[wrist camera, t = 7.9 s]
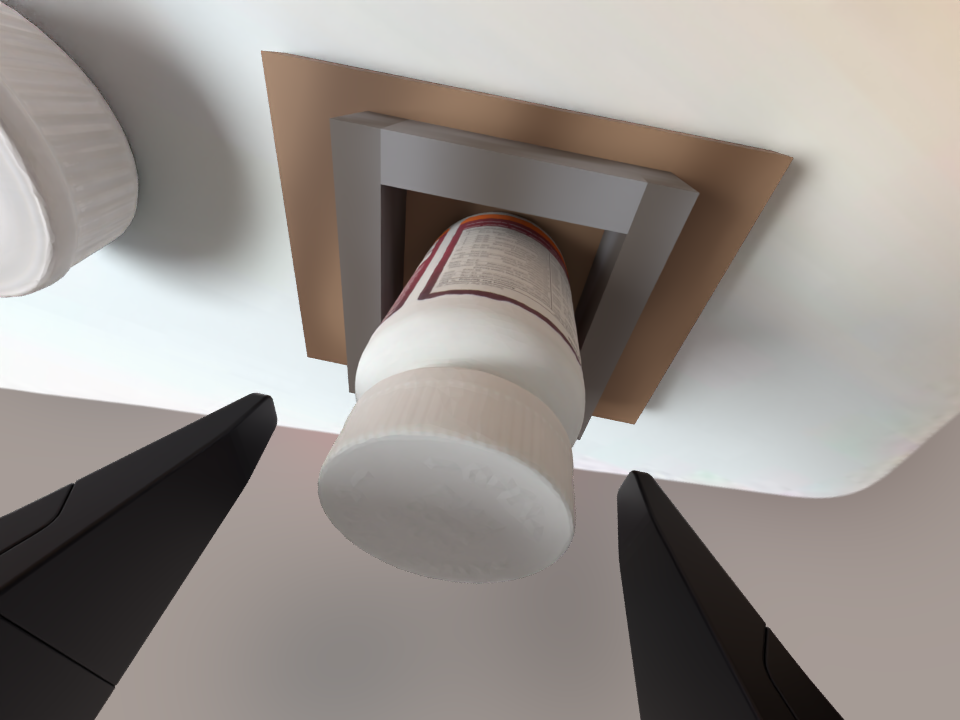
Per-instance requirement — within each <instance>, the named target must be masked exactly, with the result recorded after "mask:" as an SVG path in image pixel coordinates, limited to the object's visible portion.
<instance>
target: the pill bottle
mask: <svg viewBox="0 0 960 720" xmlns="http://www.w3.org/2000/svg"><path fill="white" fill-rule="evenodd" d="M355 395H356V402H357V403H356V404H355V406H354V408H353V409H352V411H351V413H350V414H349V416H348V418H347V420H346V422H345V424H344V427H343V429H342V431H341V433H340V435H339V436H338V438H337V440H336V441H335V443H334V445H333V447H332V448H331V450H330V452H329V454H328V456H327V458H326V459H325V461H324V463H323V465H322V468H321V471H320V475H319V481H318V495H319V499H320V502H321V505H322V507H323V509H324V512H325V514H326V515H327V516H328V518H329V519H330V521H331V522H332V524H333V525H334V526H335V527H336V528H337V529H338V530H339V531H340V532H341V533H342V534H343V535H344V536H345V537H346V538H347V539H348V540H349V541H351V542H352V543H353V544H355V545H356V546H358V547H359V548H360V549H362V550H363V551H365V552H366V553H368V554H370V555H372V556H373V557H375V558H378V559H380V560H382V561H383V562H385V563H388V564H390V565H392V566H394V567H396V568H399V569H402V570H405V571H407V572H411V573H414V574H418V575H420V576H424V577H428V578H433V579H439V580H445V581H452V582H460V583H478V584H480V583H496V582H505V581H512V580H516V579H520V578H524V577H527V576H530V575H533V574H536V573H538V572H540V571H542V570H544V569H546V568H547V567H549V566H551V565H552V564H553V563H555V562H556V561H557V560H558V559H559V558H560V557H561V556H562V555H563V554H564V553H565V552H566V551H567V549H568V547H569V546H570V544H571V542H572V539H573V536H574V532H575V525H576V524H575V523H576V522H575V521H576V512H575V511H576V510H575V496H574V484H573V455H572V449H571V448H572V447H573V445H574V443H575V442H576V440H577V438H578V436H579V433H580V431H581V428H582V423H583V419H584V412H585V386H584V379H583V371H582V365H581V357H580V350H579V344H578V338H577V330H576V324H575V318H574V310H573V303H572V295H571V289H570V281H569V275H568V272H567V268H566V264H565V261H564V258H563V256H562V254H561V251H560V250H559V248H558V246H557V245H556V243H555V242H554V241H553V240H552V238H551V237H550V236H549V235H548V234H547V233H546V232H545V231H543V230H542V229H541V228H540V227H539V226H537V225H536V224H534V223H532V222H531V221H529V220H527V219H524V218H522V217H519V216H516V215H513V214H509V213H502V212H487V213H480V214H476V215H472V216H469V217H466V218H464V219H462V220H460V221H458V222H456V223H454V224H453V225H451V226H450V227H449V228H448V229H446V230H445V231H444V232H443V233H442V234H441V235H440V236H439V237H438V238H437V240H436V241H435V242H434V244H433V245H432V247H431V248H430V249H429V251H428V252H427V254H426V255H425V257H424V259H423V261H422V262H421V263H420V265H419V266H418V267H417V269H416V271H415V273H414V275H413V276H412V277H411V279H410V280H409V282H408V283H407V285H406V286H405V288H404V289H403V291H402V292H401V294H400V295H399V297H398V298H397V300H396V301H395V303H394V305H393V306H392V307H391V309H390V310H389V312H388V313H387V315H386V316H385V318H384V319H383V321H382V322H381V324H380V325H379V326H378V328H377V329H376V330H375V332H374V333H373V334H372V336H371V338H370V341H369V343H368V344H367V346H366V348H365V350H364V352H363V353H362V356H361V358H360V361H359V364H358V368H357V372H356V379H355Z"/></svg>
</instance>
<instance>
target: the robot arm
mask: <svg viewBox="0 0 960 720" xmlns="http://www.w3.org/2000/svg"><path fill="white" fill-rule="evenodd" d="M276 425H277V415H276V411H275V407H274V402H273V399H272V397H271V396H269V395H265V394H260V393H252V394H249V395H247V396H245V397H243V398H241V399H239V400H237V401H235V402H233V403H231V404H229V405H227V406H225V407H223V408H221V409H219V410H217V411H215V412H213V413H211V414H209V415H207V416H205V417H203V418H201V419H199V420H197V421H195V422H193V423H191V424H189V425H187V426H185V427H183V428H181V429H179V430H177V431H175V432H173V433H171V434H169V435H167V436H165V437H163V438H161V439H159V440H157V441H155V442H153V443H151V444H149V445H147V446H145V447H143V448H141V449H139V450H137V451H135V452H133V453H131V454H129V455H127V456H125V457H123V458H121V459H119V460H117V461H115V462H113V463H111V464H109V465H107V466H105V467H103V468H101V469H99V470H97V471H95V472H93V473H91V474H89V475H87V476H85V477H83V478H81V479H79V480H77V481H76V482H75V484H74V483H71V484H69V485H67V486H65V487H62V488H60V489H58V490H57V491H55V492H53V493H50V494H49V495H47V496H44V497H42V498H40V499H38V500H36V501H34V502H32V503H30V504H28V505H26V506H24V507H22V508H20V509H17V510H15V511H13V512H11V513H9V514H7V515H5V516H2V517H0V720H94V719H95V718H96V717H97V715H98V713H99V712H100V710H101V709H102V707H103V706H104V704H105V703H106V701H107V700H108V698H109V697H110V695H111V693H112V692H113V690H114V689H115V685H117V684H118V682H119V681H120V679H121V678H122V676H123V674H124V673H125V671H126V670H127V668H128V667H129V665H130V664H131V662H132V661H133V659H134V657H135V656H136V654H137V653H138V651H139V650H140V648H141V647H142V645H143V644H144V642H145V640H146V639H147V637H148V636H149V634H150V633H151V631H152V629H153V628H154V627H155V625H156V623H157V622H158V620H159V619H160V617H161V616H162V614H163V613H164V611H165V610H166V608H167V606H168V605H169V603H170V602H171V600H172V599H173V597H174V596H175V594H176V593H177V591H178V589H179V588H180V586H181V585H182V583H183V582H184V580H185V579H186V577H187V576H188V574H189V572H190V571H191V569H192V568H193V566H194V565H195V563H196V562H197V560H198V559H199V557H200V556H201V554H202V552H203V551H204V549H205V548H206V546H207V545H208V543H209V541H210V540H211V539H212V537H213V535H214V534H215V532H216V531H217V529H218V528H219V526H220V524H221V523H222V521H223V520H224V518H225V517H226V515H227V514H228V512H229V511H230V509H231V508H232V506H233V505H234V503H235V501H236V500H237V498H238V497H239V495H240V494H241V492H242V491H243V489H244V487H245V486H246V484H247V483H248V480H249V479H250V477H251V475H252V473H253V471H254V469H255V467H256V465H257V463H258V461H259V460H260V457H261V455H262V454H263V452H264V450H265V448H266V446H267V444H268V442H269V440H270V438H271V435H272V433H273V432H274V430H275V428H276ZM617 511H618V549H619V563H620V572H621V579H622V586H623V594H624V601H625V608H626V616H627V623H628V631H629V638H630V645H631V653H632V659H633V667H634V674H635V682H636V688H637V696H638V704H639V711H640V718H641V720H844V719H843V718H842V717H841V715H840V714H839V713H838V712H837V711H836V710H835V708H834V707H833V706H832V705H831V704H830V703H829V701H828V700H827V699H826V698H825V697H824V695H823V694H822V693H821V692H820V691H819V689H818V688H817V687H816V686H815V685H814V684H813V682H812V681H811V680H810V679H809V678H808V676H807V675H806V674H805V673H804V671H803V670H802V669H801V668H800V666H799V665H798V664H797V663H796V661H795V660H794V659H793V658H792V656H791V655H790V654H789V653H788V651H787V650H786V649H785V648H784V646H783V645H782V644H781V642H780V641H779V640H778V638H777V637H776V636H775V635H774V633H773V632H772V631H771V629H770V628H769V627H766V624H765V622H764V621H763V619H762V618H761V617H760V615H759V614H758V613H757V612H756V610H755V609H754V608H753V606H752V605H751V604H750V603H749V601H748V600H747V599H746V597H745V596H744V595H743V593H742V592H741V591H740V590H739V588H738V587H737V586H736V585H735V583H734V582H733V581H732V579H731V578H730V577H729V576H728V574H727V573H726V571H725V570H724V569H723V568H722V566H721V565H720V564H719V562H718V561H717V560H716V559H715V557H714V556H713V555H712V553H711V552H710V551H709V550H708V548H707V547H706V546H705V544H704V543H703V542H702V541H701V539H700V538H699V537H698V535H697V534H696V533H695V531H694V530H693V529H692V528H691V526H690V525H689V524H688V522H687V521H686V520H685V519H684V517H683V516H682V515H681V513H680V512H679V511H678V509H677V508H676V507H675V506H674V504H673V503H672V502H671V500H670V499H669V498H668V497H667V495H666V494H665V493H664V492H663V490H662V489H661V488H660V486H659V485H658V484H657V482H656V481H655V480H654V478H653V477H652V476H651V475H650V474H648V473H645V472H640V471H635V470H633V471H631V472H630V473H629V474H628V476H627V477H626V479H625V481H624V482H623V484H622V485H621V487H620V488H619V491H618V494H617Z"/></svg>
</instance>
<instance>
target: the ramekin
mask: <svg viewBox="0 0 960 720" xmlns="http://www.w3.org/2000/svg"><path fill="white" fill-rule="evenodd" d="M138 186H139V185H138V174H137V169H136V164H135V161H134V157H133V154H132V152H131V149H130V146H129V143H128V140H127V138H126V136H125V134H124V132H123V130H122V128H121V126H120V124H119V122H118V120H117V119H116V117H115V115H114V114H113V112H112V110H111V109H110V107H109V105H108V104H107V102H106V101H105V99H104V98H103V96H102V95H101V93H100V92H99V91H98V89H97V88H96V87H95V86H94V84H93V83H92V82H91V80H90V79H89V78H88V77H87V76H86V74H85V73H84V72H83V71H82V70H81V69H80V68H79V66H78V65H77V64H76V63H75V62H74V61H73V60H72V59H71V58H70V57H69V56H68V55H67V54H66V53H65V52H64V51H63V50H62V49H61V48H60V47H59V46H58V45H57V44H56V43H54V42H53V41H52V40H51V39H50V38H49V37H48V36H46V35H45V34H44V33H43V32H42V31H41V30H40V29H39V28H38V27H36V26H35V25H34V24H32V23H31V22H30V21H28V20H27V19H25V18H24V17H23V16H22V15H21V14H19V13H18V12H17V11H15V10H14V9H12V8H11V7H9V6H7V5H5V4H4V3H2V2H1V1H0V297H17V296H24V295H27V294H31V293H33V292H36V291H38V290H41V289H43V288H46V287H48V286H50V285H52V284H54V283H55V282H57V281H58V280H59V279H61V278H62V277H63V276H64V275H65V274H66V273H67V272H68V271H69V269H70V268H71V267H72V266H74V265H76V264H77V263H79V262H81V261H82V260H84V259H85V258H87V257H88V256H90V255H92V254H93V253H95V252H96V251H98V250H100V249H101V248H103V247H104V246H106V245H108V244H109V243H111V242H112V241H114V240H115V239H116V238H117V237H119V236H120V235H122V234H123V233H124V232H125V230H126V228H128V226H129V225H130V224H131V221H132V219H133V217H134V216H135V211H136V208H137V199H138Z"/></svg>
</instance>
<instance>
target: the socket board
mask: <svg viewBox="0 0 960 720" xmlns="http://www.w3.org/2000/svg"><path fill="white" fill-rule="evenodd" d="M261 55H262V61H263V68H264V74H265V81H266V88H267V94H268V101H269V107H270V114H271V120H272V127H273V133H274V140H275V147H276V153H277V160H278V166H279V173H280V179H281V186H282V192H283V199H284V206H285V212H286V219H287V225H288V232H289V238H290V245H291V252H292V258H293V265H294V271H295V278H296V284H297V291H298V297H299V304H300V311H301V317H302V324H303V330H304V337H305V343H306V350H307V357H310V358H315V359H320V360H325V361H329V362H334V363H339V364H344V365H347V368H348V382H349V392H350V393H355V379H356V372H357V368H358V364H359V361H360V358H361V356H362V353H363V352H364V350H365V348H366V346H367V344H368V343H369V341H370V338H371V336H372V334H373V333H374V332H375V330H376V329H377V328H378V326H379V325H380V324H381V322H382V321H383V319H384V318H385V316H386V315H387V313H388V312H389V310H390V309H391V307H392V306H393V305H394V303H395V301H396V300H397V298H398V297H399V295H400V294H401V292H402V291H403V289H404V288H405V286H406V285H407V283H408V282H409V280H410V279H411V277H412V276H413V275H414V273H415V271H416V269H417V267H418V266H419V265H420V263H421V262H422V261H423V259H424V257H425V255H426V254H427V252H428V251H429V249H430V248H431V247H432V245H433V244H434V242H435V241H436V240H437V238H438V237H439V236H440V235H441V234H442V233H443V232H444V231H445V230H446V229H448V228H449V227H450V226H451V225H453V224H454V223H456V222H458V221H460V220H462V219H464V218H466V217H469V216H472V215H476V214H480V213H487V212H502V213H509V214H513V215H516V216H519V217H522V218H524V219H527V220H529V221H531V222H532V223H534V224H536V225H537V226H539V227H540V228H541V229H542V230H543V231H545V232H546V233H547V234H548V235H549V236H550V237H551V238H552V240H553V241H554V242H555V243H556V245H557V246H558V248H559V250H560V251H561V254H562V256H563V258H564V261H565V264H566V268H567V272H568V275H569V281H570V289H571V295H572V303H573V310H574V318H575V324H576V330H577V338H578V344H579V350H580V357H581V365H582V371H583V379H584V386H585V412H584V419H583V423H582V428H581V431H580V433H579V436H578V438H577V440H580V439H581V437H582V435H583V432H584V430H585V428H586V426H587V424H588V422H589V420H590V418H591V416H596V417H601V418H606V419H610V420H615V421H620V422H625V423H630V424H635V423H636V421H637V419H638V418H639V416H640V414H641V413H642V411H643V409H644V408H645V406H646V404H647V403H648V401H649V399H650V398H651V396H652V394H653V393H654V391H655V389H656V388H657V386H658V384H659V383H660V381H661V379H662V378H663V376H664V374H665V373H666V371H667V369H668V367H669V366H670V364H671V362H672V361H673V359H674V357H675V356H676V354H677V352H678V351H679V349H680V347H681V346H682V344H683V342H684V341H685V339H686V337H687V336H688V334H689V332H690V331H691V329H692V327H693V326H694V324H695V322H696V321H697V319H698V317H699V316H700V314H701V312H702V310H703V309H704V307H705V305H706V304H707V302H708V300H709V299H710V297H711V295H712V294H713V292H714V290H715V289H716V287H717V285H718V284H719V282H720V280H721V279H722V277H723V275H724V274H725V272H726V270H727V269H728V267H729V265H730V264H731V262H732V260H733V259H734V257H735V255H736V254H737V252H738V250H739V248H740V247H741V245H742V243H743V242H744V240H745V238H746V237H747V235H748V233H749V232H750V230H751V228H752V227H753V225H754V223H755V222H756V220H757V218H758V217H759V215H760V213H761V212H762V210H763V208H764V207H765V205H766V203H767V202H768V200H769V198H770V197H771V195H772V193H773V191H774V190H775V188H776V186H777V185H778V183H779V181H780V180H781V178H782V176H783V175H784V173H785V171H786V170H787V168H788V166H789V165H790V163H791V161H792V160H793V157H790V156H787V155H783V154H780V153H777V152H774V151H770V150H766V149H761V148H756V147H751V146H746V145H741V144H736V143H731V142H726V141H721V140H716V139H711V138H706V137H701V136H696V135H691V134H686V133H681V132H676V131H671V130H666V129H661V128H656V127H651V126H646V125H641V124H636V123H631V122H626V121H621V120H616V119H611V118H606V117H601V116H596V115H591V114H586V113H581V112H576V111H572V110H567V109H562V108H557V107H552V106H547V105H542V104H537V103H532V102H527V101H522V100H517V99H512V98H507V97H502V96H497V95H492V94H487V93H482V92H477V91H472V90H467V89H462V88H457V87H452V86H447V85H442V84H437V83H432V82H427V81H422V80H417V79H412V78H407V77H402V76H397V75H392V74H387V73H382V72H377V71H373V70H368V69H363V68H358V67H353V66H348V65H343V64H338V63H333V62H328V61H323V60H318V59H313V58H308V57H303V56H298V55H293V54H288V53H281V52H270V51H261Z"/></svg>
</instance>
